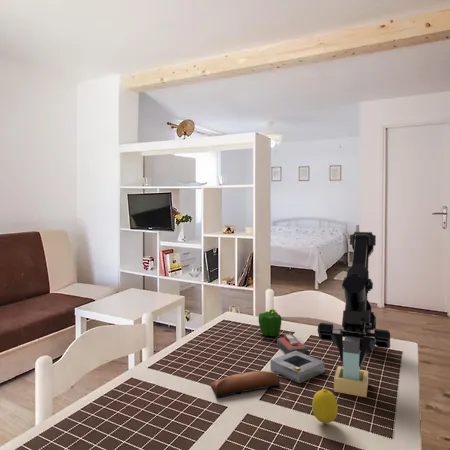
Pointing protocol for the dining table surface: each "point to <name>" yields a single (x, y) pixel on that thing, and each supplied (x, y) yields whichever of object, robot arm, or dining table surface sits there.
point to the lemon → (324, 406)
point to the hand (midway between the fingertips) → (351, 365)
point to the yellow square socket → (351, 383)
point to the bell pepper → (270, 323)
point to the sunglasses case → (244, 382)
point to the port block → (297, 374)
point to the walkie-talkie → (292, 344)
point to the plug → (351, 358)
